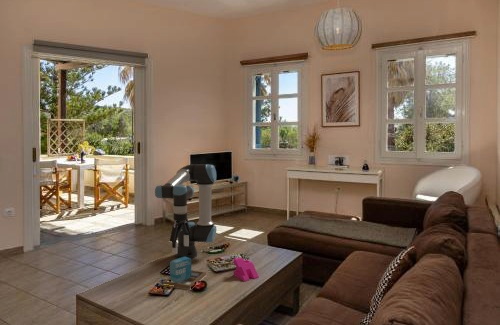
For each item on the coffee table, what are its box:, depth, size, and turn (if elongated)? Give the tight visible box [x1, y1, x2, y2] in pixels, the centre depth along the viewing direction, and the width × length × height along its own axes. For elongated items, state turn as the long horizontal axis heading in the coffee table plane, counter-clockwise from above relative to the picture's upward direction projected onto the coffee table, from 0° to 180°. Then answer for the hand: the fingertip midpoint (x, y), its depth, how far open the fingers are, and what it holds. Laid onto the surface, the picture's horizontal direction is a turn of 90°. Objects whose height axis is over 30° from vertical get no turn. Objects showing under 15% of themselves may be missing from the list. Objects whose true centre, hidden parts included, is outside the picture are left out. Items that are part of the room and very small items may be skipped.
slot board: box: [162, 269, 208, 291], centre depth 222 cm, size 22×18×3 cm
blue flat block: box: [169, 257, 192, 283], centre depth 217 cm, size 12×4×12 cm, turn 137°
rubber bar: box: [191, 273, 200, 278], centre depth 227 cm, size 4×12×2 cm, turn 72°
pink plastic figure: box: [233, 257, 260, 282], centre depth 230 cm, size 12×10×10 cm
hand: (180, 249), depth 216 cm, fingers open, 13 cm apart
